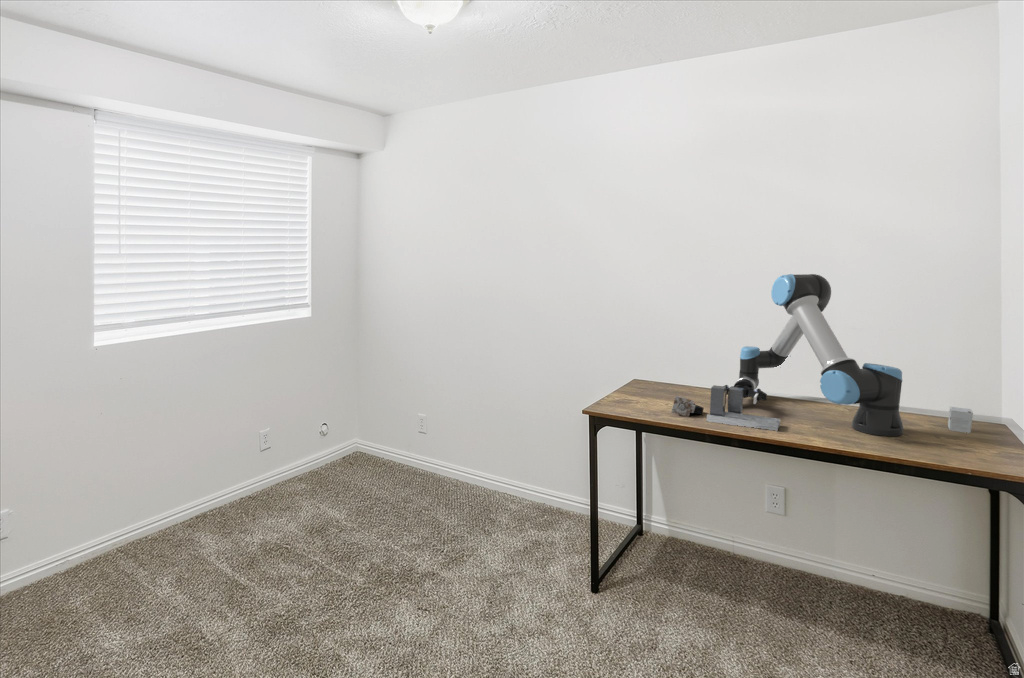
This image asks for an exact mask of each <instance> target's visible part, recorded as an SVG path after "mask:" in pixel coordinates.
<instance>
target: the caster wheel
mask: <svg viewBox="0 0 1024 678" xmlns="http://www.w3.org/2000/svg"><path fill="white" fill-rule="evenodd" d="M671 413H672V414H675V415H679V416H682V417H685V416H686V418H689V417H690V414H698V415H702V414H703V413H704V406H703V407H702V406H700V405H697V404H696V403H695V402H694V400H692V399H689V398H686V397H684V396H678V395H676V396H675V397H674V401H673V404H672V408H671Z"/></svg>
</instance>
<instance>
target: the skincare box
mask: <svg viewBox="0 0 1024 678" xmlns="http://www.w3.org/2000/svg"><path fill="white" fill-rule="evenodd" d="M973 414H974V412H973V410H972V409H971V408H963V407H956V406H949V414H948V421H947V427H948V430H949V431H951V432H952V431H953V432H957V433H966V432H967V433H966V434H971V432H972V424H973V416H974V415H973Z"/></svg>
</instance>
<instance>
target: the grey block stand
mask: <svg viewBox="0 0 1024 678" xmlns="http://www.w3.org/2000/svg"><path fill="white" fill-rule="evenodd" d="M726 394H727V391H726V387H725V385H715V384H714V385H712V386H711V387H710V401H709V402H710V404H709V414H708V413H707V414H706V422H708V423H717V424H722V423H723V424H724V425H731V426H737V425H738V426H737V427H744V426H746V427H745V428H751V427H754V428H753V429H758V428H761V430H765V429H769V430H768V431H773V430H775V432H778V430H779V429H778V428H780V426H781V418H778V417H771V416H770V417H769V416H765V415H764V416H762V415H756V414H755V415H754V414H746V413H742V414H740V413H733V412H728V411H726V405H727V395H726Z"/></svg>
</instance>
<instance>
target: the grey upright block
mask: <svg viewBox="0 0 1024 678" xmlns="http://www.w3.org/2000/svg"><path fill="white" fill-rule="evenodd" d="M743 389H744V388H737V387H731V386H730V389H729V392H728V395H727V402H726V405H727V412H733V413H740V414H743V403H744V398H743Z"/></svg>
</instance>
